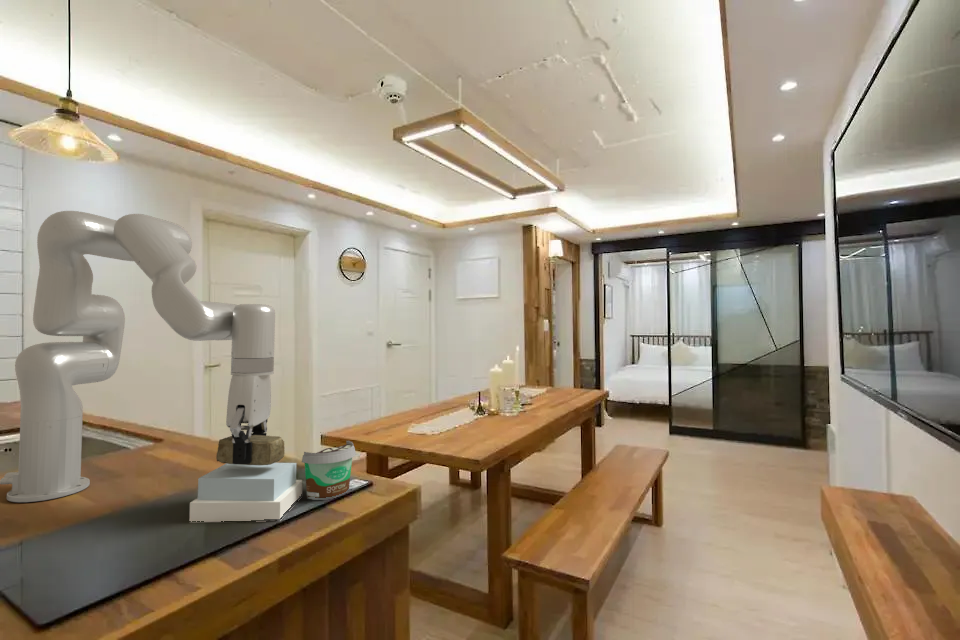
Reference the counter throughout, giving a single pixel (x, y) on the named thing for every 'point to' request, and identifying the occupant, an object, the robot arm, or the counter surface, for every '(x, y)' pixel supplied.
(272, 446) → the stone block
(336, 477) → the food container
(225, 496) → the tower top slab
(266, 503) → the tower base slab
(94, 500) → the counter surface
